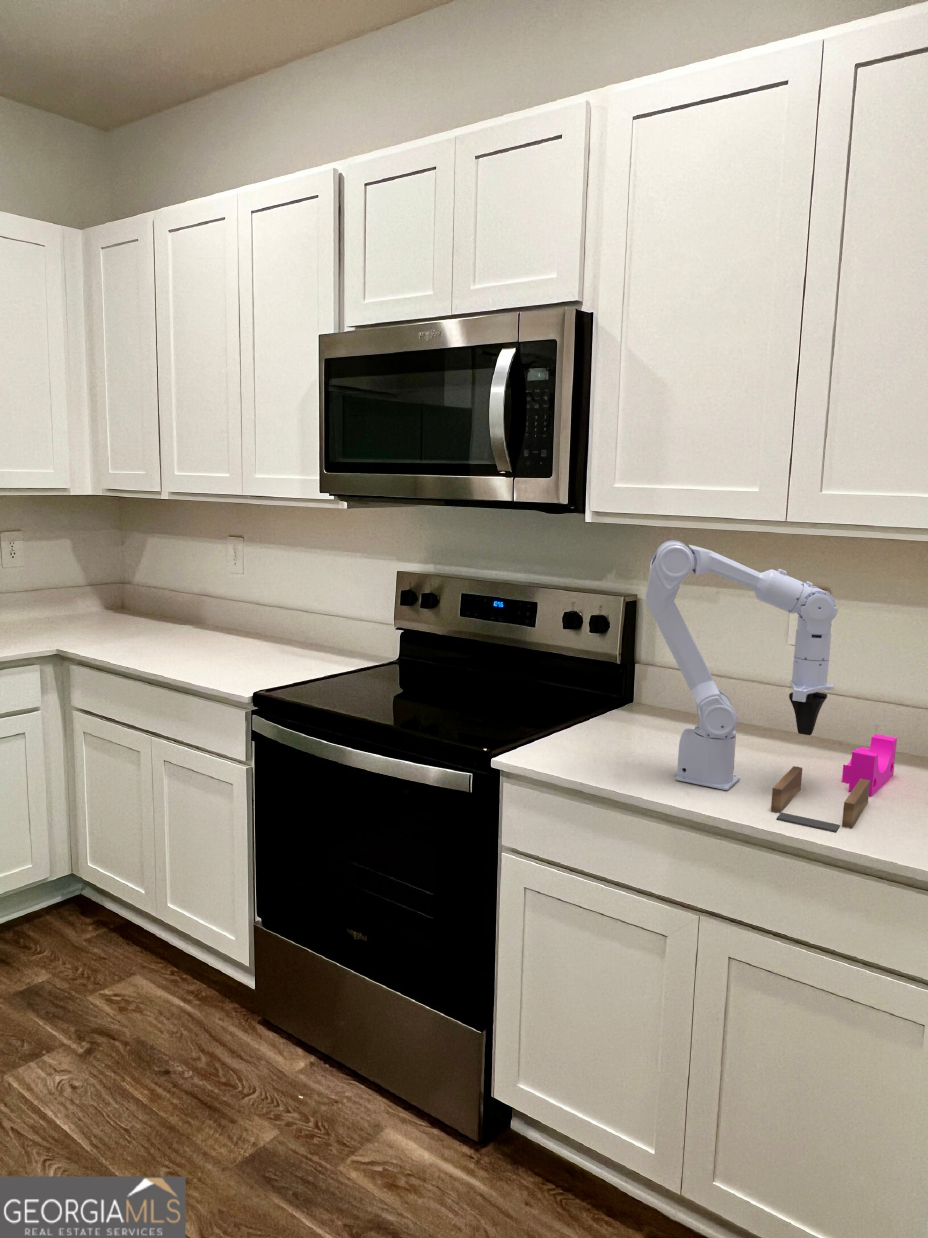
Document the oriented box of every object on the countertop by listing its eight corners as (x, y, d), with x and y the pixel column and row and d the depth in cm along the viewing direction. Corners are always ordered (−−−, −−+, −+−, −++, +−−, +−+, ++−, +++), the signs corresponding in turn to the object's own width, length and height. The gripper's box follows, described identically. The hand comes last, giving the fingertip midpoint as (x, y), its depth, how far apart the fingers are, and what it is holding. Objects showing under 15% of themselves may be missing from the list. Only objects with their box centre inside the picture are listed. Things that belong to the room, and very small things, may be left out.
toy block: (857, 769, 172) (861, 731, 170) (893, 777, 168) (897, 738, 167) (833, 790, 160) (837, 749, 159) (870, 798, 156) (874, 756, 155)
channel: (770, 811, 148) (772, 787, 148) (791, 787, 160) (793, 766, 159) (852, 828, 141) (854, 804, 141) (867, 803, 153) (870, 780, 152)
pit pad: (776, 819, 145) (776, 818, 144) (781, 814, 147) (781, 812, 147) (835, 832, 140) (836, 830, 140) (839, 826, 142) (839, 825, 142)
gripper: (826, 667, 148) (819, 747, 150) (844, 654, 160) (837, 728, 162) (782, 662, 152) (776, 740, 154) (803, 649, 164) (797, 722, 166)
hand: (805, 733), depth 158 cm, fingers closed
